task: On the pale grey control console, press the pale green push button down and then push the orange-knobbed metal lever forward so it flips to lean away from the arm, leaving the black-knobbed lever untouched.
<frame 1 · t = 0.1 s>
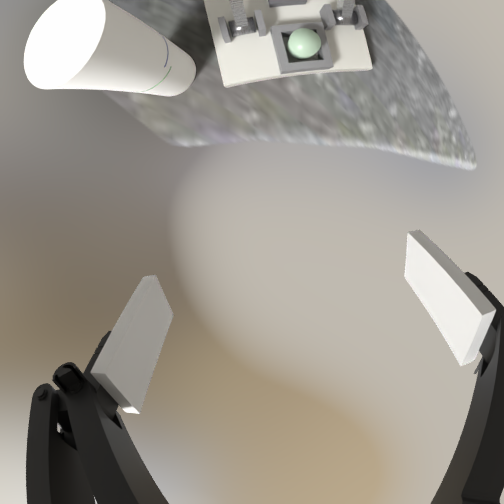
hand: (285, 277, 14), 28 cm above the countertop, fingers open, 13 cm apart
button: (303, 44, 25), point 6 cm above the countertop, slide at 0.0 cm
cylindrical container: (171, 73, 32), on the countertop
panel: (287, 28, 28), on the countertop
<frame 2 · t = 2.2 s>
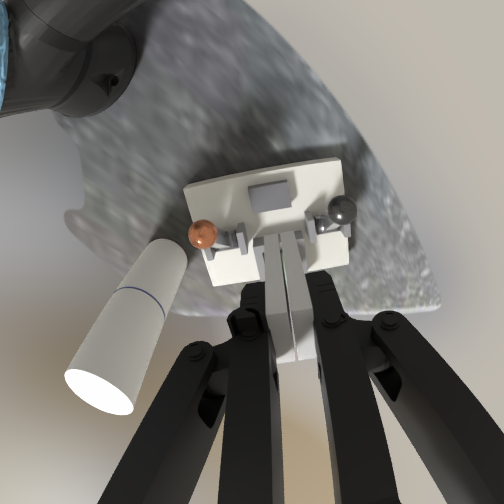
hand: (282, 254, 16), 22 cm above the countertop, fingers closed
button: (282, 267, 36), point 6 cm above the countertop, slide at 0.0 cm
lever 2: (333, 217, 29), point 8 cm above the countertop, hinge at -30.0°
cylindrical container: (165, 258, 42), on the countertop
panel: (271, 221, 39), on the countertop
lever 1: (216, 238, 31), point 8 cm above the countertop, hinge at -30.0°
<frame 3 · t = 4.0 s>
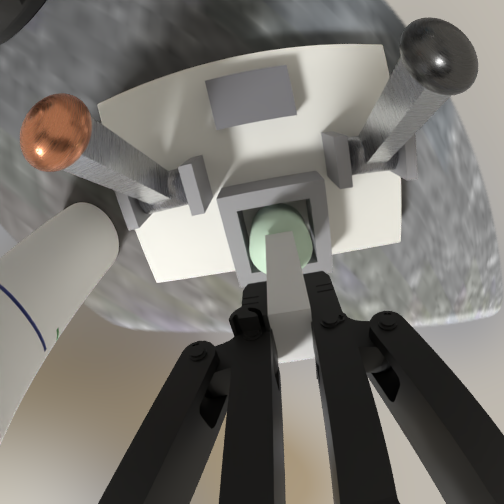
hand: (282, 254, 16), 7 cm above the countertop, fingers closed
button: (279, 238, 17), point 5 cm above the countertop, slide at 0.5 cm, touching gripper
lever 2: (396, 117, 10), point 8 cm above the countertop, hinge at -30.0°
cylindrical container: (88, 236, 23), on the countertop
panel: (258, 159, 20), on the countertop
lever 1: (123, 168, 12), point 8 cm above the countertop, hinge at -30.0°
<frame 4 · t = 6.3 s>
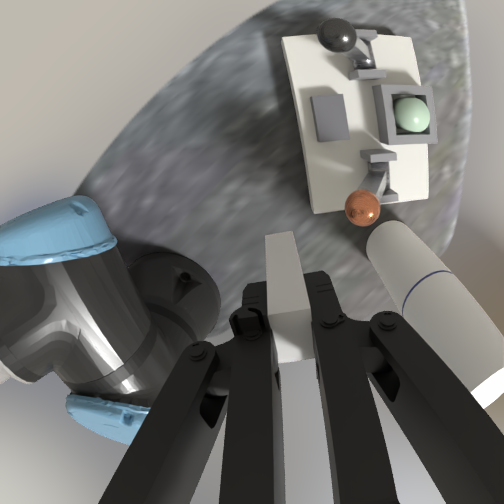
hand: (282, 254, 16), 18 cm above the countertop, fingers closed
button: (409, 114, 23), point 4 cm above the countertop, slide at 1.2 cm
lever 2: (351, 47, 17), point 8 cm above the countertop, hinge at -30.0°
cylindrical container: (389, 244, 35), on the countertop
panel: (361, 118, 28), on the countertop
lever 1: (372, 188, 23), point 8 cm above the countertop, hinge at -30.0°
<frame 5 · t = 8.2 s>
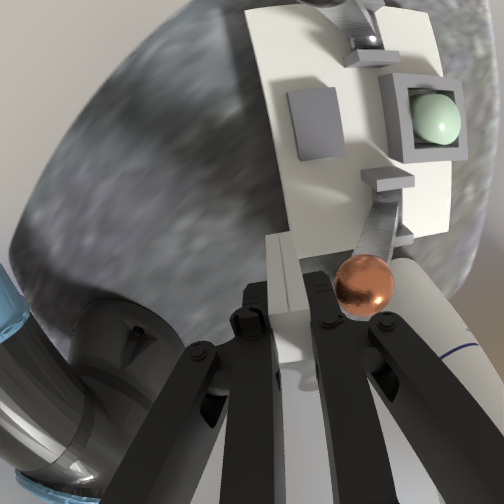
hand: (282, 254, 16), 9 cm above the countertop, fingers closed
button: (431, 117, 15), point 4 cm above the countertop, slide at 1.2 cm
lever 2: (347, 10, 9), point 8 cm above the countertop, hinge at -30.0°
cylindrical container: (394, 285, 27), on the countertop
panel: (361, 122, 20), on the countertop
lever 1: (379, 236, 15), point 8 cm above the countertop, hinge at -30.0°, touching gripper
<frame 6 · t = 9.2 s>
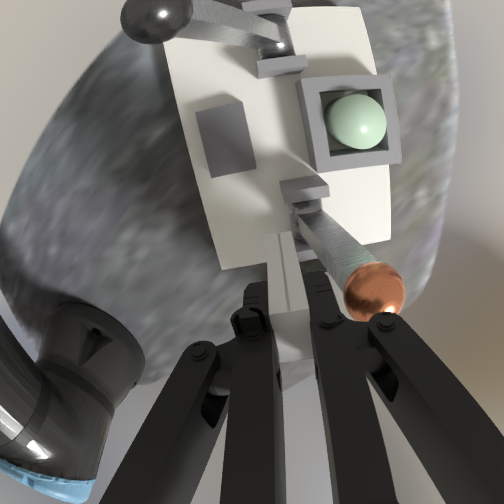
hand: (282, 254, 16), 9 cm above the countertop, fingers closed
button: (353, 120, 16), point 4 cm above the countertop, slide at 1.2 cm
lever 2: (229, 25, 10), point 8 cm above the countertop, hinge at -30.0°
cylindrical container: (338, 294, 28), on the countertop
panel: (286, 131, 21), on the countertop
lever 1: (333, 246, 15), point 9 cm above the countertop, hinge at 7.7°, touching gripper
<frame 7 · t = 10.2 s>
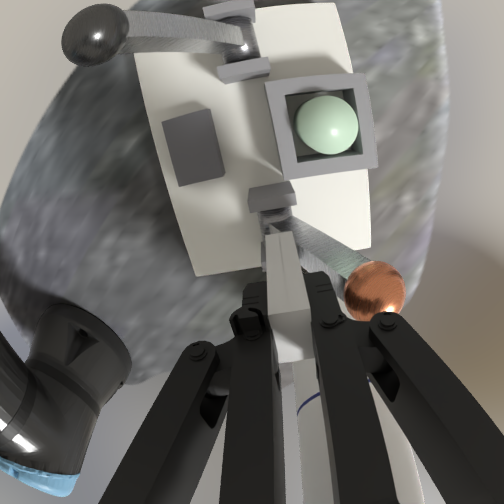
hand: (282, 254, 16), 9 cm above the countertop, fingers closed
button: (323, 123, 16), point 4 cm above the countertop, slide at 1.2 cm
lever 2: (181, 34, 10), point 8 cm above the countertop, hinge at -30.0°
cylindrical container: (320, 302, 28), on the countertop
panel: (260, 136, 21), on the countertop
lever 1: (315, 251, 15), point 9 cm above the countertop, hinge at 22.3°, touching gripper
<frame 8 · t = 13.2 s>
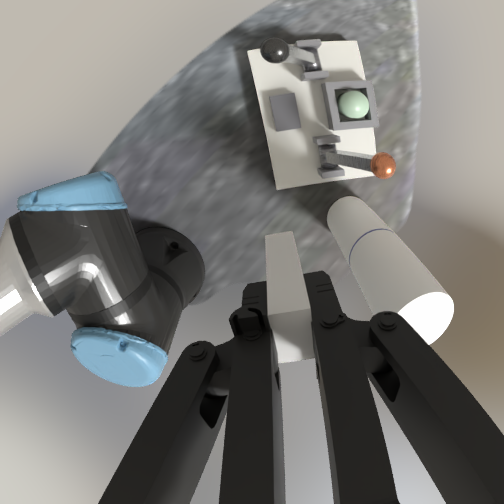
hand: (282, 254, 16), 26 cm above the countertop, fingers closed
button: (352, 104, 30), point 4 cm above the countertop, slide at 1.2 cm
lever 2: (294, 55, 25), point 8 cm above the countertop, hinge at -30.0°
cylindrical container: (348, 217, 42), on the countertop
panel: (315, 111, 35), on the countertop
lever 1: (353, 159, 30), point 9 cm above the countertop, hinge at 22.4°
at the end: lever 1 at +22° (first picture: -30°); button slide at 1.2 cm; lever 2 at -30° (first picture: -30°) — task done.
